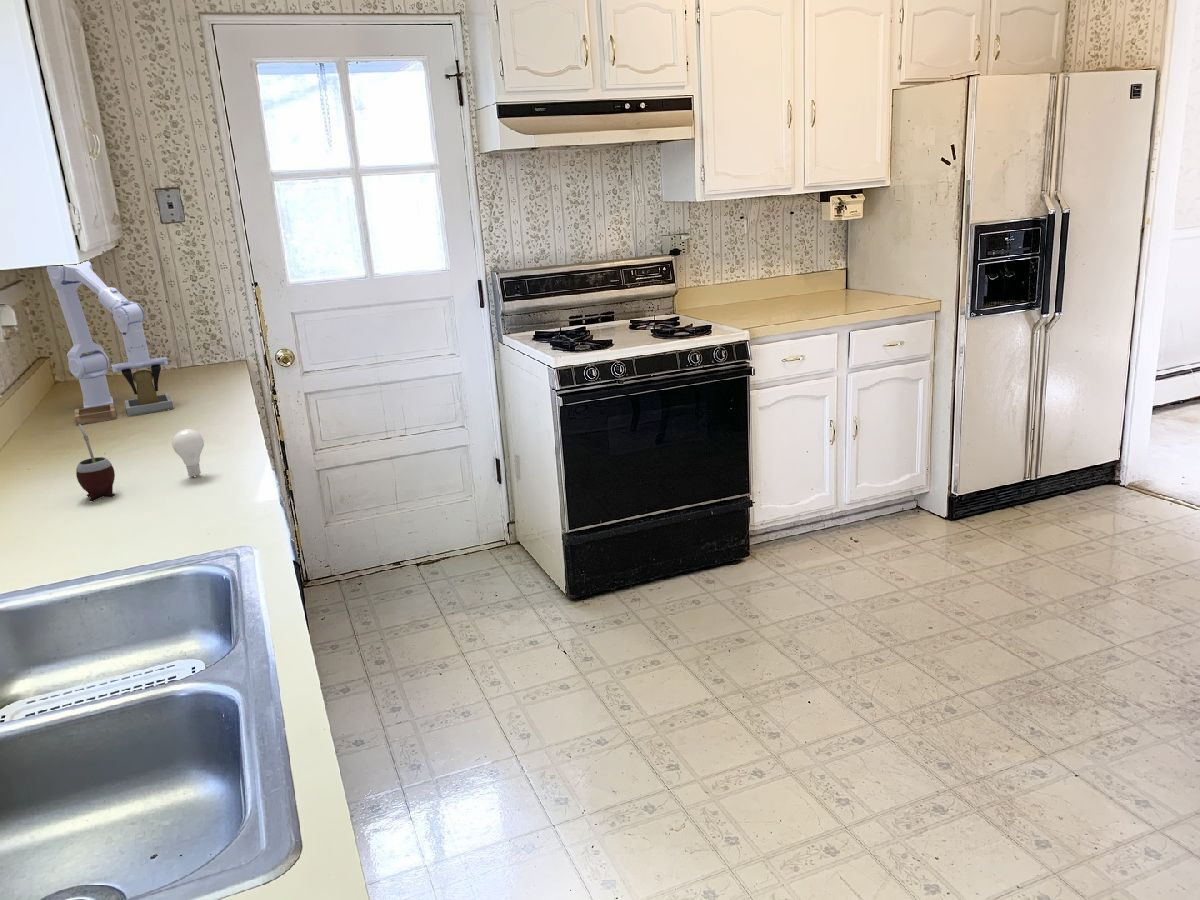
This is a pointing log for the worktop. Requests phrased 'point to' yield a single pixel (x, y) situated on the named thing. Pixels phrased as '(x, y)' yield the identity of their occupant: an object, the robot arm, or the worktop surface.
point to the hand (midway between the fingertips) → (146, 392)
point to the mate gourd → (95, 474)
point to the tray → (148, 405)
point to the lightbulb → (189, 449)
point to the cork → (145, 387)
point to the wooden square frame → (95, 414)
